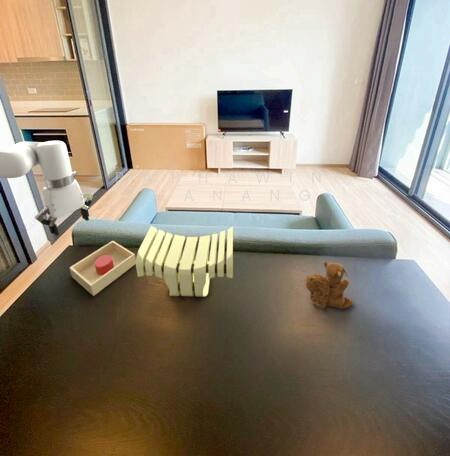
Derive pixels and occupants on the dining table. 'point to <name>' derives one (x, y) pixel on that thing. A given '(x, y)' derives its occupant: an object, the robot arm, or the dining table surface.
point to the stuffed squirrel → (329, 287)
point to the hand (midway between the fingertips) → (71, 226)
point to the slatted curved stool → (185, 261)
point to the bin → (95, 283)
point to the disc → (104, 264)
